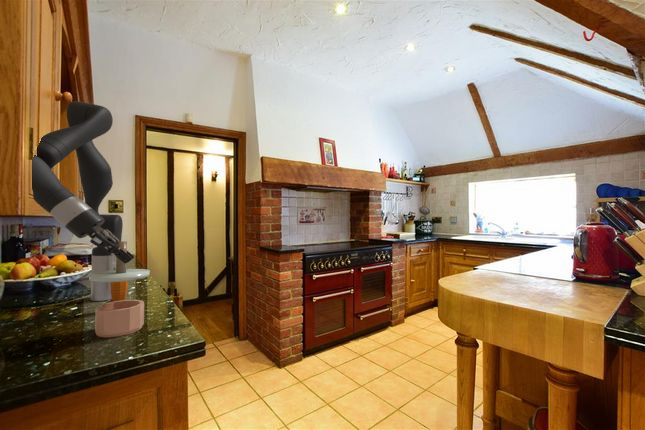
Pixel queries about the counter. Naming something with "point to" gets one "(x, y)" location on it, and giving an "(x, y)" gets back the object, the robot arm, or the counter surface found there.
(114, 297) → the carrot
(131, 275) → the celadon lid
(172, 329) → the counter surface
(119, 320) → the terracotta pot
